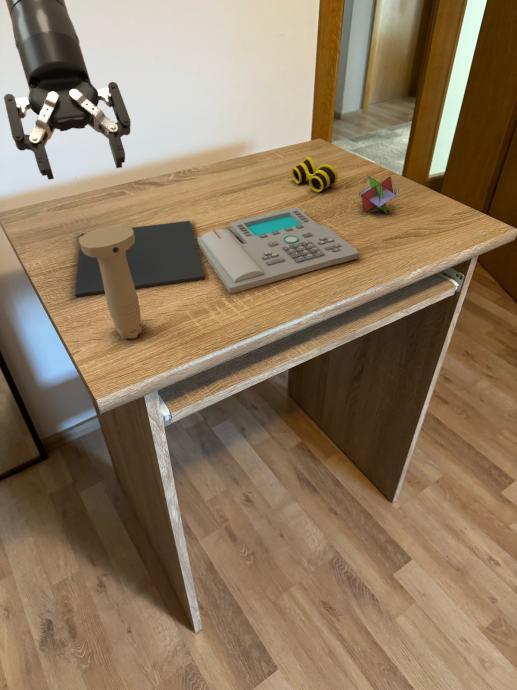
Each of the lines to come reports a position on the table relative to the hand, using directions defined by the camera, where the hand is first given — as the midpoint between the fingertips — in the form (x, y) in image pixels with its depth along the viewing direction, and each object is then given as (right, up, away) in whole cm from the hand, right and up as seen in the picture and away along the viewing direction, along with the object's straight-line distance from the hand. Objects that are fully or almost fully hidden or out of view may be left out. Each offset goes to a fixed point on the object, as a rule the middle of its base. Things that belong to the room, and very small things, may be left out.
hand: (85, 170), depth 61 cm
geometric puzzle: (+45, +4, +34) cm, 56 cm away
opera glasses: (+34, +13, +44) cm, 57 cm away
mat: (+1, -7, +22) cm, 23 cm away
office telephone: (+24, -5, +24) cm, 34 cm away
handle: (+4, -20, +7) cm, 22 cm away
